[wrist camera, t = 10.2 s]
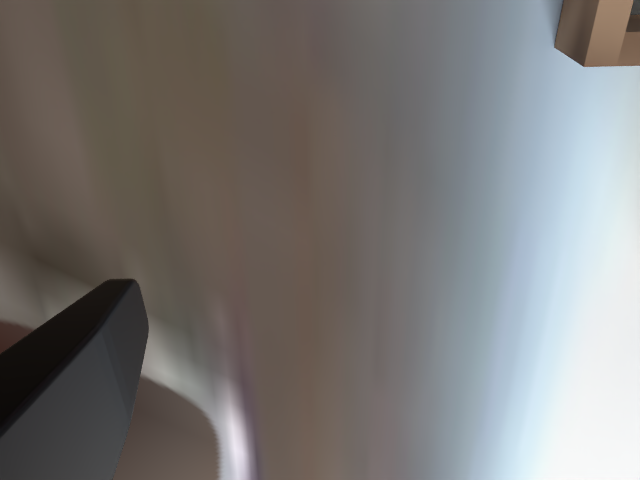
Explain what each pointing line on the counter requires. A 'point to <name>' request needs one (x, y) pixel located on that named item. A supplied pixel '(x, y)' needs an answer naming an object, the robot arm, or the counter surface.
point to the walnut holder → (599, 33)
